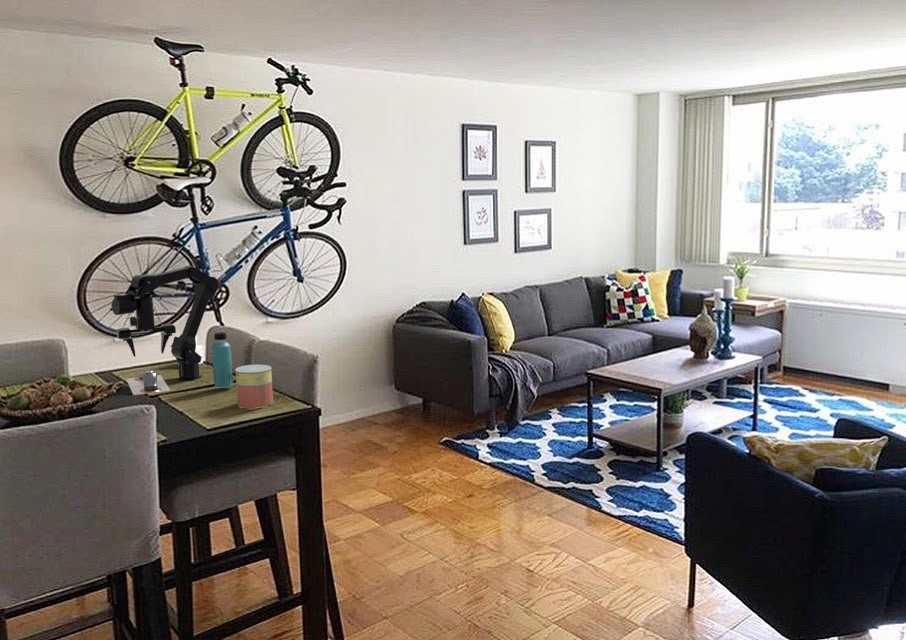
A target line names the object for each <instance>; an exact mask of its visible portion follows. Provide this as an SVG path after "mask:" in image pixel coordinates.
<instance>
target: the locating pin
mask: <svg viewBox="0 0 906 640" xmlns="http://www.w3.org/2000/svg"><path fill="white" fill-rule="evenodd" d="M142 373H143V383H144V391H156V390H158V388H157V371H154V370H146V371H145V372H142Z"/></svg>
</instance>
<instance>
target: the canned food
mask: <svg viewBox="0 0 906 640" xmlns="http://www.w3.org/2000/svg"><path fill="white" fill-rule="evenodd" d="M272 369H273V367H272V366H271V365H268V364H261V363H260V364H259V363H258V364H247V365H246V364H245V365H241V366H238V367H236V368H235V380H236V399H237V404H238V406H239V407H242V408H255V407H262V406H266V405H269V404H270V403H272V402H273V403H274V400H273V394H274V393H273V377H272V376H273V375H272V374H273V373H272ZM238 406H237V407H238ZM239 407H238V408H239ZM242 408H241V409H242Z"/></svg>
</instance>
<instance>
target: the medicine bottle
mask: <svg viewBox="0 0 906 640" xmlns="http://www.w3.org/2000/svg"><path fill="white" fill-rule="evenodd" d="M195 339H196V349H195V352H196V353H197V354H199V355H200V356H201V357H202V358H201V362H200V363H199V365H202V364H203V363H204V355H203V353H204V352H203V346H202V345H198V336H197V335H196V338H195ZM177 366H179V362H178V361H177Z"/></svg>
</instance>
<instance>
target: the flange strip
mask: <svg viewBox="0 0 906 640" xmlns="http://www.w3.org/2000/svg"><path fill="white" fill-rule="evenodd" d="M143 373H144V372H141V373H139V374H138V377H131V378H125V381H126V382H127V384H128V387H129V389H130V391H131V393H132V395H133V396H137V395H145V394H155V393H162V392H163V393H164V392H170V391H171V388H169V386H168V383H166V381H165V379H164V378H163V377H162V375H161V374H158V375H157V388H158V390H156V391H144V383H143Z"/></svg>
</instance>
